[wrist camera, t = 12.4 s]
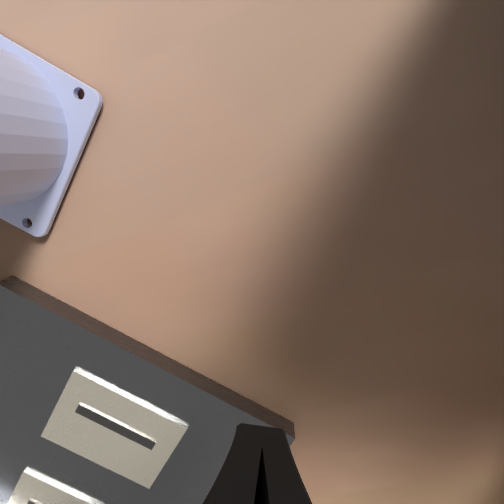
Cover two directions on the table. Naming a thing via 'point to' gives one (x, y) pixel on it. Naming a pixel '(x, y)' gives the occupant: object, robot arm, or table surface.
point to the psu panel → (105, 412)
